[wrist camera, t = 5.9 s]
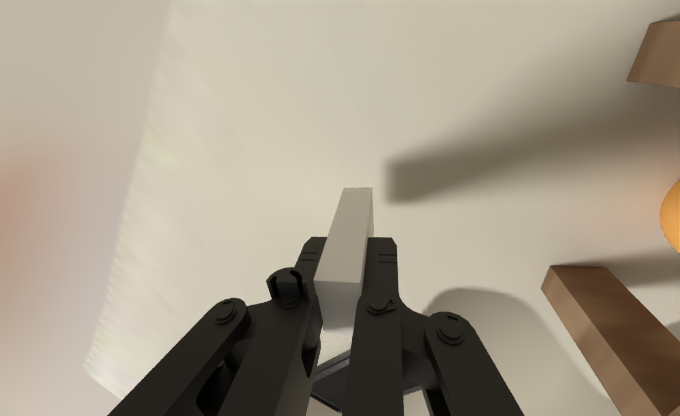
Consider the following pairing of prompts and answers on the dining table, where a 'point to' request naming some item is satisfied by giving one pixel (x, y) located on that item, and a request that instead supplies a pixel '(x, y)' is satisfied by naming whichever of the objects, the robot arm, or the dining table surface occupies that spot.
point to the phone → (340, 382)
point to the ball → (671, 216)
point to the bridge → (625, 291)
